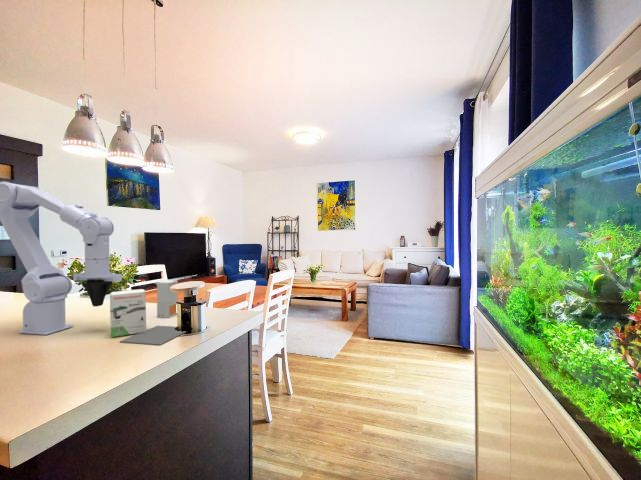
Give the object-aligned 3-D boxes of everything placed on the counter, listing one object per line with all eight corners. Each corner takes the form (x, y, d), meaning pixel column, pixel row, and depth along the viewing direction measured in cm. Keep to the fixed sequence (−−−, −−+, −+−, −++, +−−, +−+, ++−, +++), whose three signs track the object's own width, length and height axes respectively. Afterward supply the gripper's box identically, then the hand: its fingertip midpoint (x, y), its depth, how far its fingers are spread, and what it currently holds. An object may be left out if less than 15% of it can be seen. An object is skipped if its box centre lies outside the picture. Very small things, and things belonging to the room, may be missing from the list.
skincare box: (168, 318, 102) (168, 282, 102) (156, 317, 102) (156, 282, 102) (178, 313, 108) (178, 280, 108) (166, 313, 108) (166, 279, 108)
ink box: (110, 338, 82) (108, 294, 82) (111, 333, 86) (109, 292, 86) (147, 331, 87) (145, 290, 86) (146, 327, 91) (144, 288, 91)
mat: (119, 342, 79) (119, 341, 79) (157, 326, 93) (157, 325, 93) (160, 345, 77) (160, 344, 77) (193, 328, 90) (193, 327, 90)
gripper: (130, 258, 90) (130, 303, 91) (88, 257, 93) (89, 301, 93) (109, 260, 84) (110, 309, 84) (65, 259, 86) (66, 307, 86)
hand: (97, 305), depth 88 cm, fingers closed
